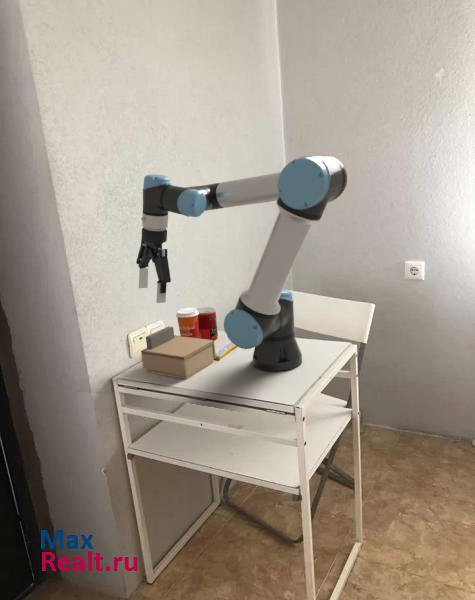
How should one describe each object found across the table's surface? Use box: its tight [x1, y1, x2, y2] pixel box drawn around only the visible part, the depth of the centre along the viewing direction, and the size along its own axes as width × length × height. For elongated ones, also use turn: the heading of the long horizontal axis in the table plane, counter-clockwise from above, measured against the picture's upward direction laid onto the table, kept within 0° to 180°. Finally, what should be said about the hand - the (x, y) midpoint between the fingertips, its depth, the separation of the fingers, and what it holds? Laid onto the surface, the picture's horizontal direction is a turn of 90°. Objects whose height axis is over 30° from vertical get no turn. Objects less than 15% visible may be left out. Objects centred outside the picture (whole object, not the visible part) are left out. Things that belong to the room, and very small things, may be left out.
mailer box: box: [145, 345, 215, 380], centre depth 160 cm, size 16×14×6 cm
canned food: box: [196, 306, 219, 341], centre depth 185 cm, size 8×8×11 cm
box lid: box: [140, 326, 216, 375], centre depth 159 cm, size 16×16×10 cm
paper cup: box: [175, 307, 199, 338], centre depth 174 cm, size 8×8×14 cm
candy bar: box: [214, 341, 238, 361], centre depth 171 cm, size 17×4×2 cm, turn 153°
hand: (151, 294), depth 160 cm, fingers open, 13 cm apart
